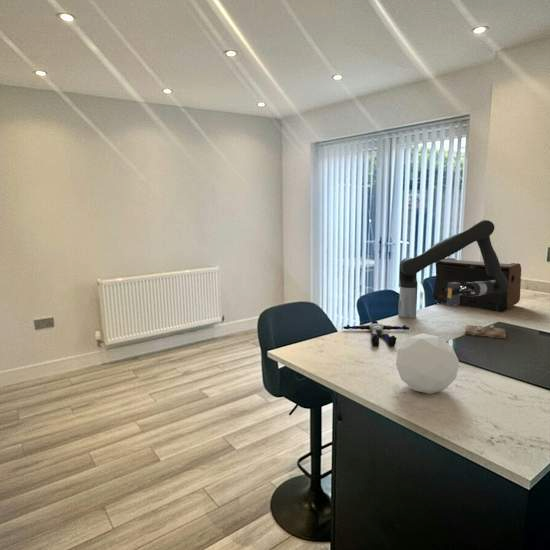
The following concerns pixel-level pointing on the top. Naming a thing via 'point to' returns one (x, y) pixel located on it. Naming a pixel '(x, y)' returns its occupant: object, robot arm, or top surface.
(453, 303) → the dark grey tall block
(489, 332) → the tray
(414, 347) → the geometric sphere
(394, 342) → the toy
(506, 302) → the radio
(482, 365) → the top surface
